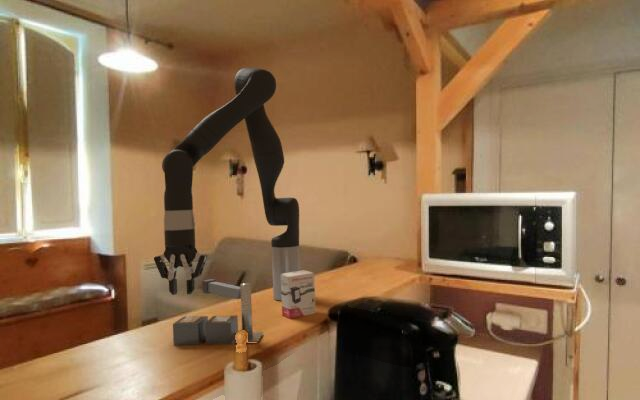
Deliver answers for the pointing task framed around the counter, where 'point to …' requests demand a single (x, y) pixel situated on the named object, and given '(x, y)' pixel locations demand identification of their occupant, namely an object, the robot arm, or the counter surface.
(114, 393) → the counter surface
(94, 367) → the counter surface
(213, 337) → the block
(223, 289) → the bar
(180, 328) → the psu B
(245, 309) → the post
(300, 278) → the ink box
